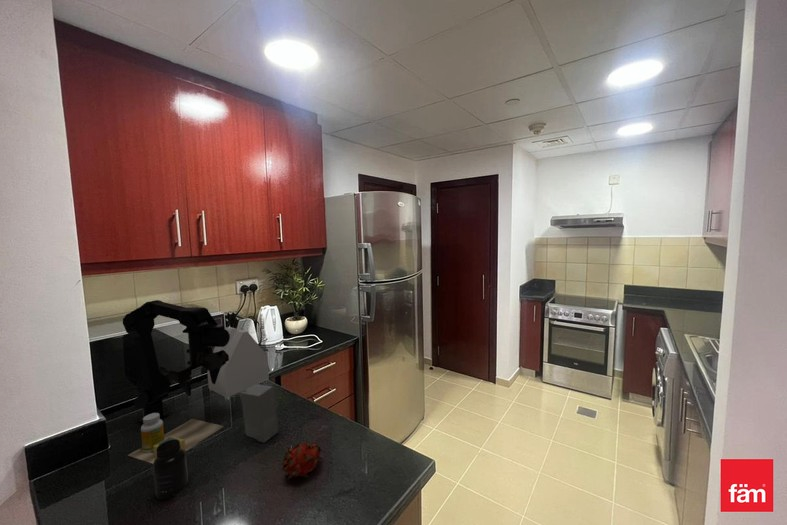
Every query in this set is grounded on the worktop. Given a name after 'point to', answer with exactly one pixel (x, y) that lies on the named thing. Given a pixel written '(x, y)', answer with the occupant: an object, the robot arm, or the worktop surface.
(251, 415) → the skincare box
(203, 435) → the plywood board
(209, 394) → the worktop surface
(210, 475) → the worktop surface
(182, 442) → the stud finder
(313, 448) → the dragon fruit
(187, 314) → the robot arm
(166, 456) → the supplement bottle
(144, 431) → the supplement bottle
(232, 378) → the milk carton
